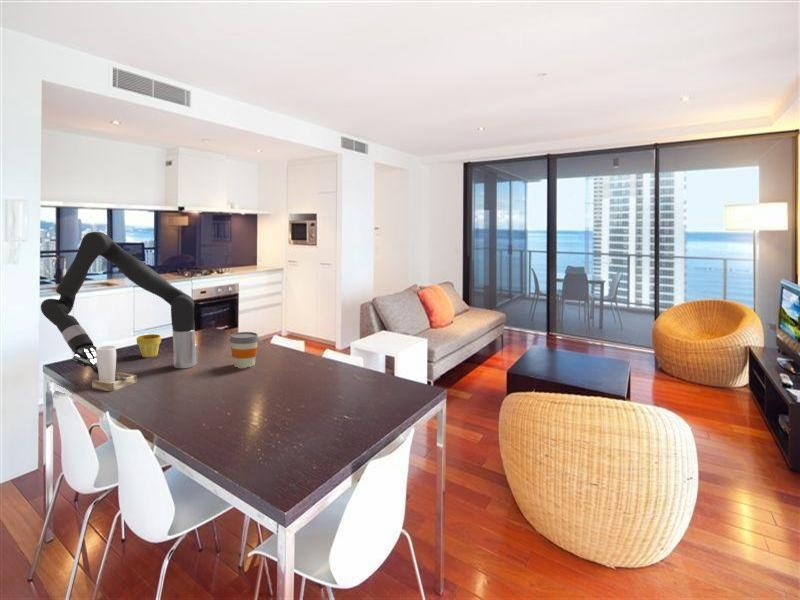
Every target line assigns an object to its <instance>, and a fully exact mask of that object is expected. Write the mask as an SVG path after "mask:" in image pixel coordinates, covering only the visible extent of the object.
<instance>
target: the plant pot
mask: <svg viewBox="0 0 800 600" xmlns="http://www.w3.org/2000/svg"><path fill="white" fill-rule="evenodd" d="M161 343H162V337H161V334H155V333H152V334H151V333H150V334H143V335H138V336H137V337H136V344H137V345H138V348H139V350H140V353H141V354H140V355H141V356H142V357H143V358H153V357H157V356H158V353H159V347H160V344H161Z"/></svg>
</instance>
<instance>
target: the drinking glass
mask: <svg viewBox="0 0 800 600" xmlns="http://www.w3.org/2000/svg"><path fill="white" fill-rule="evenodd" d="M116 348H117V347H116V345H115V346H114V345H103V346H98V347H96V361H97V367H98V378H99V379H98V380H100V381H105V382H110V383H112V382H115V381H116V373H117V372H116V370H117V369H116V367H117V349H116Z"/></svg>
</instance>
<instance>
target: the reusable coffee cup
mask: <svg viewBox="0 0 800 600" xmlns="http://www.w3.org/2000/svg"><path fill="white" fill-rule="evenodd" d="M229 341H230V345H231V346H230V351H231V357H232V358H233V363H234V368H236V367H238V368H237V369H248V368H247V367H250V368H252V367H251V366H253V365H254V366H255V363H256V356H257V355H258V354H257V353H258V347H259V345H258V341H259V335H258V333H256V332H252V331H241V332H234V333H231V334H230V339H229ZM254 366H253V367H254Z"/></svg>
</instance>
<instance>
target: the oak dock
mask: <svg viewBox="0 0 800 600" xmlns="http://www.w3.org/2000/svg"><path fill="white" fill-rule="evenodd" d="M137 383H138V375H137V374H130V373H124V372H120V371H118V372H115V382H112V383H110V382H105V381H100V380H99V379H92V380H91V386H92V389H97V390H101V391H105V392H106V391H107V392H115V391H117V390H119V389H120V390H121V389H123V388H126V387H128V386H130V385H134V384H137Z"/></svg>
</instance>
